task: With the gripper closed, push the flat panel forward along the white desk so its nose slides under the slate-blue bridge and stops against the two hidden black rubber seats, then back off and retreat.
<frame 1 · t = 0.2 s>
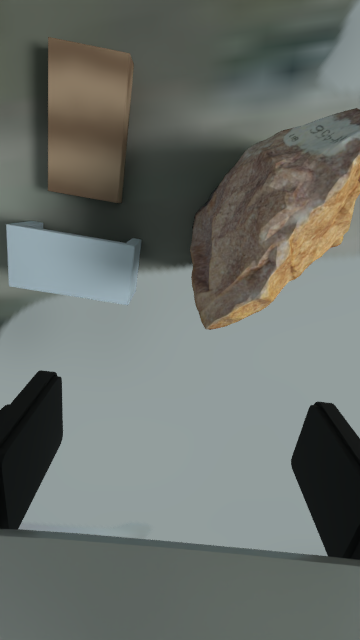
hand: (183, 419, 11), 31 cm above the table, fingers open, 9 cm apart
bridge: (86, 257, 40), on the table
stone: (240, 219, 38), on the table
panel: (93, 133, 35), on the table
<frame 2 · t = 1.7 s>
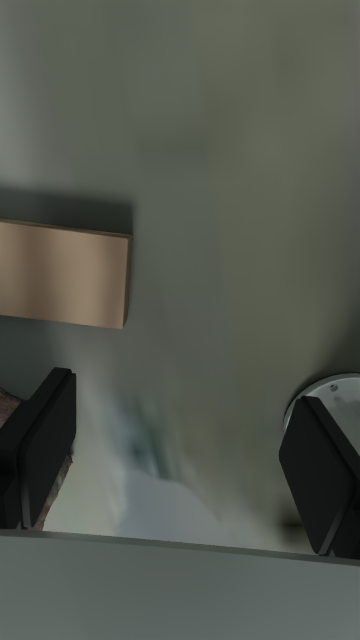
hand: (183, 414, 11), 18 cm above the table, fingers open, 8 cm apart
stone: (1, 424, 35), on the table
panel: (55, 268, 28), on the table
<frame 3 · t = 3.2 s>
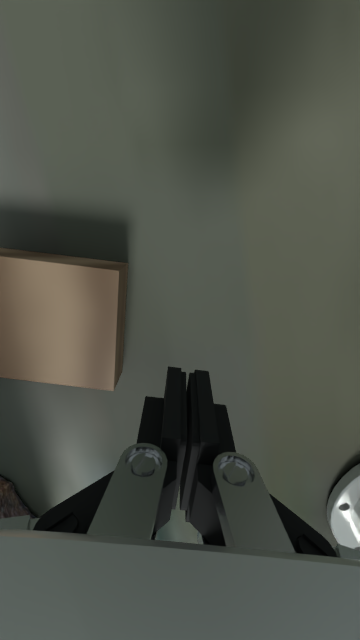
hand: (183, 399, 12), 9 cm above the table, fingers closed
panel: (27, 306, 21), on the table
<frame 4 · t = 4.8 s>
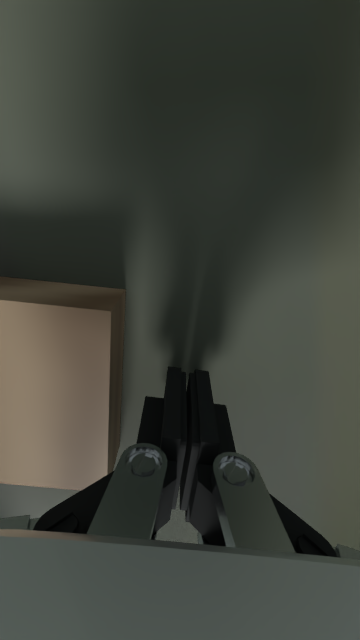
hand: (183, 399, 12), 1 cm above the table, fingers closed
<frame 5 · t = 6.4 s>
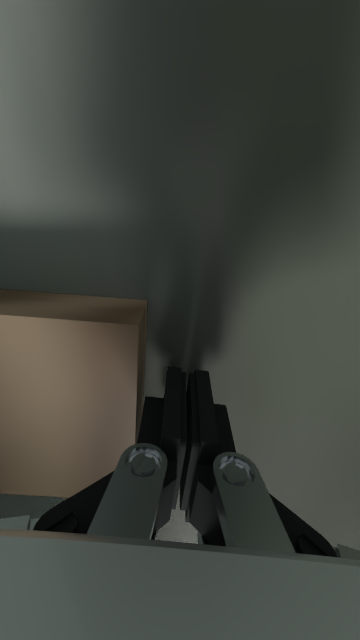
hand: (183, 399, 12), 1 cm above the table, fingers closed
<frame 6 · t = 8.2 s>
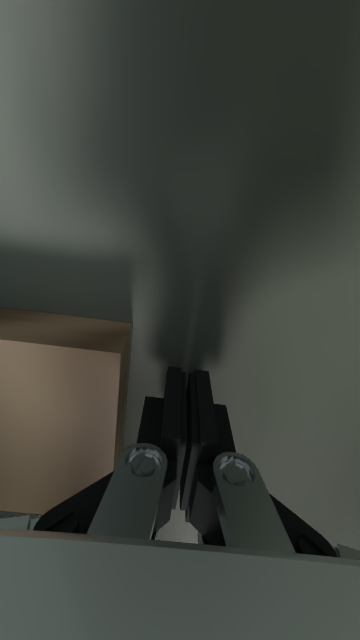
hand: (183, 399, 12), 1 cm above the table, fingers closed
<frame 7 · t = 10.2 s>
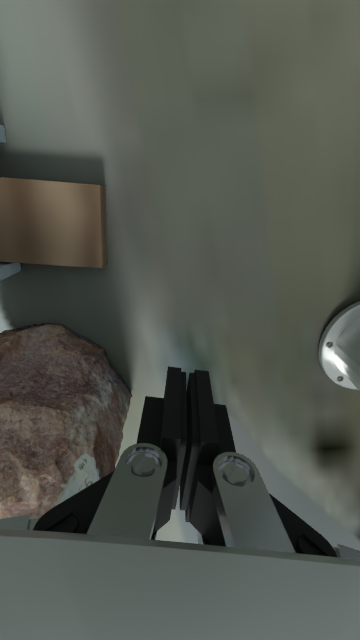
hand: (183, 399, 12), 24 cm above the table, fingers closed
stone: (68, 364, 39), on the table
panel: (41, 221, 32), on the table
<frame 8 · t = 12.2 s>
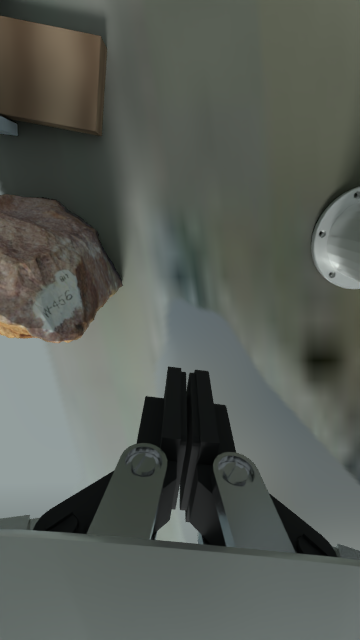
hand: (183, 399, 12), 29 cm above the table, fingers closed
stone: (60, 247, 39), on the table
panel: (41, 83, 33), on the table
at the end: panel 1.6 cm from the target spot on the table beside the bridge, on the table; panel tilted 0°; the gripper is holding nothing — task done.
